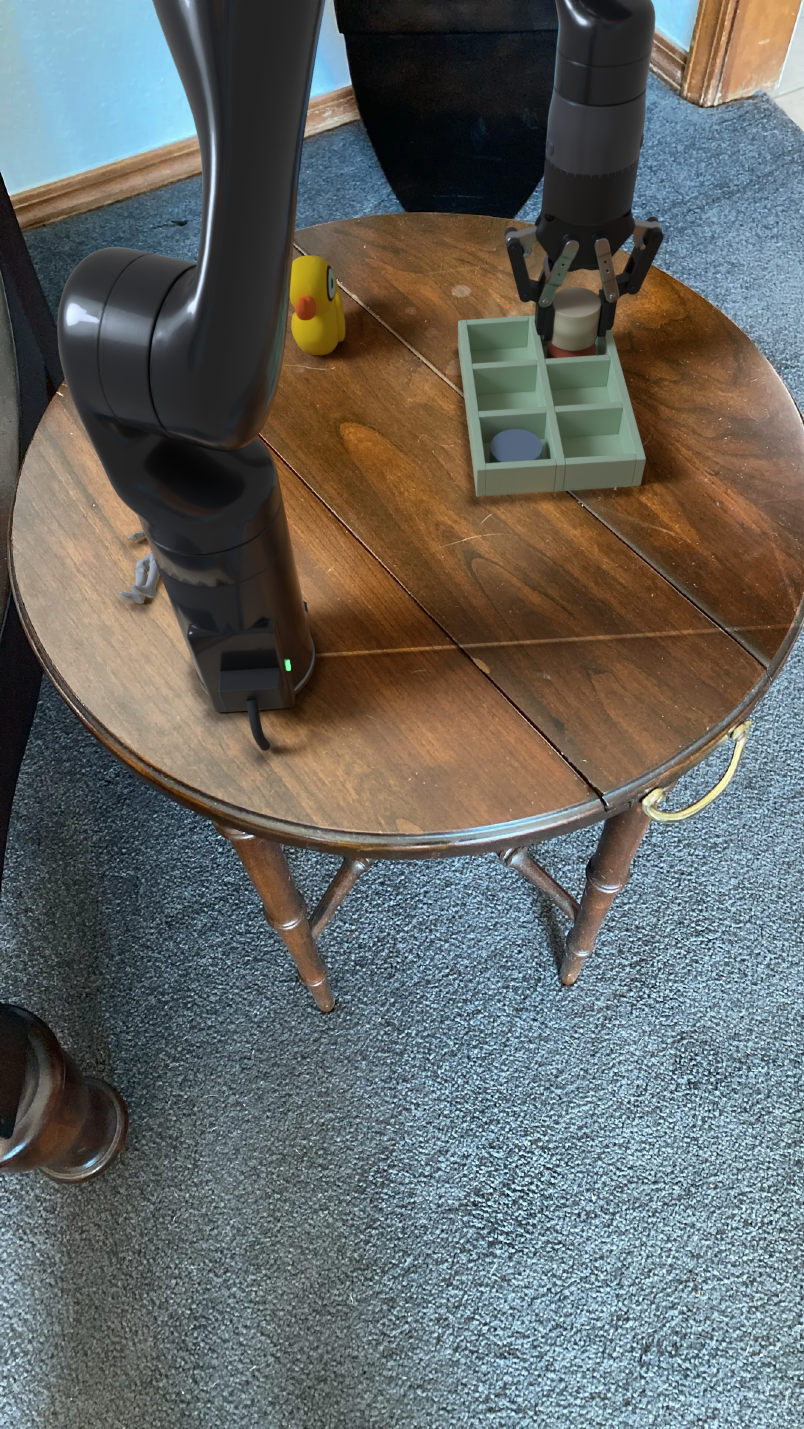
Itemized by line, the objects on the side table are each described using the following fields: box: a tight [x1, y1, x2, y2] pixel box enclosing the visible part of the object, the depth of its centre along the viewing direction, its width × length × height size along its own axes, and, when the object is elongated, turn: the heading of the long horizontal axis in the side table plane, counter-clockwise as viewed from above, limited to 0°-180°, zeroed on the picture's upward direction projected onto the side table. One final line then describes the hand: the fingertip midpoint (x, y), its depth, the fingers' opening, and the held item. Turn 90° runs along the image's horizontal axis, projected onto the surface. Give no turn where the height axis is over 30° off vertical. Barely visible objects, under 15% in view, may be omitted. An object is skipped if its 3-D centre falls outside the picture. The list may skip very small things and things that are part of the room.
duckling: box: [289, 254, 346, 356], centre depth 95 cm, size 11×5×10 cm, turn 174°
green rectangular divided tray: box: [457, 314, 647, 497], centre depth 90 cm, size 14×21×4 cm
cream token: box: [550, 286, 601, 351], centre depth 91 cm, size 5×5×4 cm
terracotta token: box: [546, 340, 596, 359], centre depth 94 cm, size 5×5×2 cm
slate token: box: [489, 429, 542, 463], centre depth 86 cm, size 5×5×2 cm
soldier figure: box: [118, 530, 161, 605], centre depth 82 cm, size 8×5×12 cm
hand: (572, 332), depth 92 cm, fingers closed on cream token, 4 cm apart
